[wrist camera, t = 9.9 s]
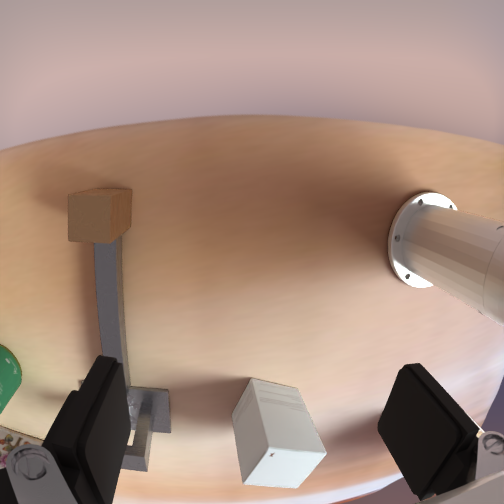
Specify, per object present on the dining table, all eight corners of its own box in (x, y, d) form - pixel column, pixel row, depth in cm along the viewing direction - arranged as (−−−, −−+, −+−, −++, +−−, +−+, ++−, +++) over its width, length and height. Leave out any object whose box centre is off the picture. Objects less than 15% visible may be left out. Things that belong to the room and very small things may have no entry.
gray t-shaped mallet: (132, 189, 32) (110, 195, 24) (137, 381, 38) (127, 422, 30) (97, 188, 31) (68, 194, 24) (108, 378, 37) (93, 417, 29)
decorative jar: (50, 440, 39) (19, 519, 22) (65, 478, 42) (44, 549, 24) (-4, 422, 37) (-42, 489, 20) (14, 461, 40) (-13, 524, 22)
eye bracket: (168, 389, 39) (161, 445, 29) (171, 430, 40) (167, 484, 31) (82, 380, 37) (59, 429, 27) (92, 421, 39) (76, 470, 29)
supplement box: (229, 414, 41) (239, 485, 29) (251, 375, 40) (268, 446, 28) (276, 424, 43) (296, 490, 30) (300, 388, 41) (329, 453, 29)
